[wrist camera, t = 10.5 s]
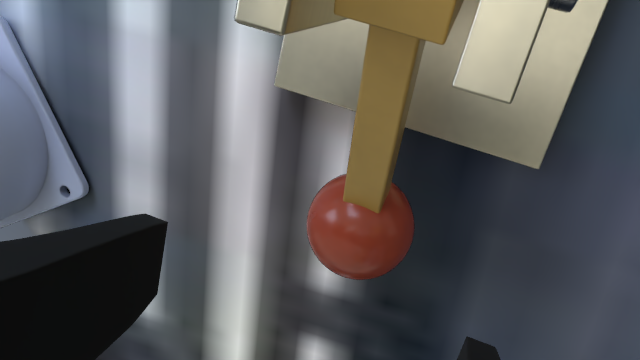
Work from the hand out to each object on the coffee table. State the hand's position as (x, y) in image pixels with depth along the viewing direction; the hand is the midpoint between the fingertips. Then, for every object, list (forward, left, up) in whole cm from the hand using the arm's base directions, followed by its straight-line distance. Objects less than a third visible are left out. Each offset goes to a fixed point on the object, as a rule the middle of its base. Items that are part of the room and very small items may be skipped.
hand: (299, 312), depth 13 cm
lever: (+3, +4, -4) cm, 6 cm away
